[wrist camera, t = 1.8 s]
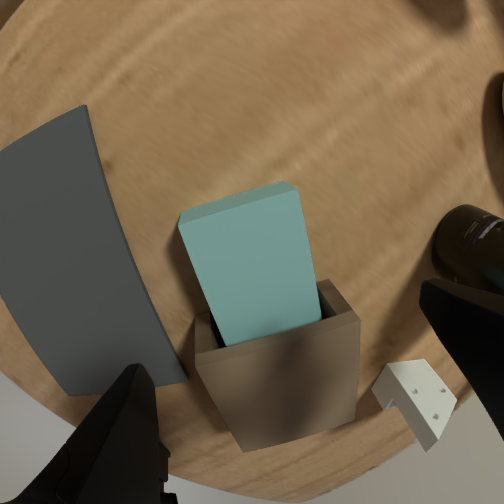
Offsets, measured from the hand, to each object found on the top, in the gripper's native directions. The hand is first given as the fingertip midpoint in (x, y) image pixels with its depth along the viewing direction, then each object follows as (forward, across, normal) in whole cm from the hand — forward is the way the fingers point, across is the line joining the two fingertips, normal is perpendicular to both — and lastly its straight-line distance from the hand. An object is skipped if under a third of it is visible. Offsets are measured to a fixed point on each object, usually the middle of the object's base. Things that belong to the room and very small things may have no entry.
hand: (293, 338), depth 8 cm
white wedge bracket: (+10, -12, +19) cm, 25 cm away
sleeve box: (+10, 0, +10) cm, 14 cm away
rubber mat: (+10, +13, 0) cm, 16 cm away
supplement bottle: (+10, -17, +5) cm, 20 cm away
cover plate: (+10, 0, +5) cm, 11 cm away
